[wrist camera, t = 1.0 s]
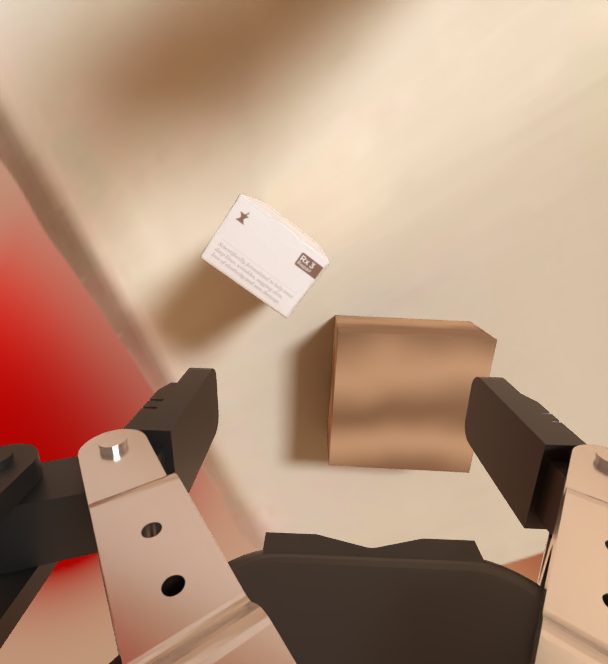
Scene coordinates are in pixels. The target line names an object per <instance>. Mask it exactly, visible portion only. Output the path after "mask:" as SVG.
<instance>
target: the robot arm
mask: <svg viewBox="0 0 608 664" xmlns="http://www.w3.org/2000/svg"><path fill="white" fill-rule="evenodd" d="M217 427H218V397H217V380H216V372H215V370H214V369H209V368H189V369H188V370H187V371H186V373H185V374H184V375H183V376H182V378H181V379H180V380H179V381H178V383H170V384H168V385H166V386H164V387H163V388H161V389H159V390H158V391H157V392H156V393H155V394H154V395H153V396H152V397H151V398H150V401H148V402H147V403H146V404H145V405H144V407H143V409H141V410H140V411H139V412H138V413H137V414H136V415H135V417H134V418H133V419H132V420H131V421H130V422H129V423H128V424H127V426H126V427H125V428H124V429H119V430H114V431H109V432H106V433H103V434H100V435H98V436H96V437H94V438H92V439H91V440H89V441H88V442H87V443H85V444H84V445H83V446H82V447H81V449H80V450H79V453H78V456H77V457H72V458H66V459H60V460H54V461H47V462H41V463H40V458H39V454H38V450H37V449H36V448H35V447H34V446H32V445H29V444H10V445H5V446H1V447H0V648H1V647H2V645H3V644H4V642H5V641H6V639H7V638H8V636H9V634H10V633H11V632H12V630H13V629H14V627H15V626H16V624H17V623H18V621H19V620H20V618H21V617H22V615H23V614H24V612H25V611H26V609H27V608H28V606H29V605H30V603H31V602H32V600H33V599H34V598H35V596H36V595H37V593H38V592H39V590H40V588H41V587H42V586H43V584H44V583H45V581H46V580H47V578H48V577H49V575H50V574H51V572H52V571H53V569H54V568H55V566H56V564H57V563H58V561H62V560H67V559H71V558H75V557H80V556H84V555H88V554H92V553H97V554H98V559H99V563H100V568H101V573H102V577H103V583H104V587H105V592H106V597H107V602H108V606H109V611H110V616H111V621H112V626H113V631H114V636H115V641H116V645H117V650H118V656H117V657H116V658H115V659H114V660H113V661H112V662H110V663H109V664H608V448H607V447H603V446H598V445H588V444H586V443H584V442H583V441H582V440H581V439H580V438H579V437H578V436H576V435H575V434H574V433H573V432H572V431H571V430H569V429H568V428H567V427H566V426H565V425H564V424H562V423H559V420H558V419H557V418H555V417H554V416H553V415H552V414H549V411H547V410H546V409H545V408H544V407H543V406H542V405H540V404H539V403H538V402H536V401H534V400H532V399H530V398H528V397H526V396H525V395H523V394H521V393H520V392H518V391H517V390H516V389H515V388H514V387H513V386H512V385H511V384H509V383H508V382H507V381H506V380H505V379H504V378H498V377H475V378H474V380H473V382H472V385H471V390H470V396H469V402H468V407H467V413H466V419H465V435H466V438H467V441H468V443H469V445H470V446H471V448H472V449H473V451H474V452H475V454H476V455H477V457H478V458H479V460H480V462H481V463H482V465H483V466H484V468H485V469H486V471H487V472H488V474H489V475H490V477H491V478H492V480H493V481H494V483H495V484H496V486H497V487H498V489H499V490H500V492H501V493H502V495H503V497H504V498H505V500H506V501H507V503H508V504H509V506H510V507H511V509H512V510H513V512H514V513H515V515H516V516H517V518H518V519H519V521H520V522H521V524H522V525H523V527H524V528H531V529H547V530H548V531H549V535H548V539H547V542H546V546H545V550H544V555H543V559H542V564H541V568H540V572H539V577H538V582H537V583H535V582H533V581H532V580H530V579H528V578H526V577H525V576H523V575H521V574H519V573H517V572H515V571H513V570H511V569H508V568H506V567H504V566H501V565H499V564H496V563H493V562H490V561H487V560H483V558H482V556H481V554H480V551H479V549H478V547H477V545H476V543H475V541H467V540H443V539H419V540H413V541H408V542H403V543H398V544H393V545H388V546H383V547H378V548H367V547H363V546H359V545H355V544H351V543H347V542H344V541H340V540H336V539H332V538H328V537H325V536H321V535H317V534H293V533H269V532H266V535H265V541H264V548H263V550H260V551H256V552H252V553H249V554H246V555H243V556H241V557H238V558H236V559H234V560H231V561H229V562H227V561H226V559H225V557H224V555H223V554H222V552H221V550H220V549H219V547H218V545H217V543H216V541H215V540H214V538H213V536H212V534H211V533H210V531H209V529H208V527H207V526H206V524H205V522H204V520H203V519H202V517H201V515H200V514H199V512H198V510H197V508H196V506H195V504H194V503H193V501H192V499H191V497H190V496H189V491H190V489H191V487H192V485H193V482H194V480H195V478H196V476H197V474H198V471H199V469H200V467H201V465H202V463H203V461H204V458H205V456H206V454H207V452H208V449H209V447H210V445H211V443H212V441H213V438H214V436H215V434H216V431H217Z"/></svg>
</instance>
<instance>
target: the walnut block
mask: <svg viewBox="0 0 608 664" xmlns="http://www.w3.org/2000/svg"><path fill="white" fill-rule="evenodd" d="M496 342H497V340H496V339H495V338H493V337H492V336H491V335H489V334H488V333H486V332H485V331H483V330H482V329H480V328H479V327H477V326H476V325H475V324H473V323H472V322H464V321H443V320H422V319H402V318H381V317H360V316H340V315H335V328H334V342H333V356H332V370H331V385H330V399H329V413H328V428H327V439H328V458H329V465H339V466H357V467H375V468H394V469H412V470H430V471H449V472H467V473H469V471H470V466H471V461H472V456H473V452H474V451H473V449H472V448H471V446H470V445H469V443H468V441H467V438H466V435H465V419H466V413H467V407H468V402H469V396H470V390H471V385H472V382H473V380H474V378H475V377H489V375H490V371H491V366H492V361H493V356H494V352H495V347H496Z"/></svg>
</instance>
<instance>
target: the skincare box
mask: <svg viewBox="0 0 608 664" xmlns="http://www.w3.org/2000/svg"><path fill="white" fill-rule="evenodd" d="M200 257H201V259H202V260H204V261H205V262H207V263H208V264H210V265H211V266H212V267H214V268H215V269H217V270H218V271H220V272H221V273H222V274H224V275H225V276H227V277H228V278H230V279H231V280H232V281H234V282H235V283H237V284H238V285H240V286H241V287H242V288H244V289H245V290H247V291H248V292H250V293H251V294H252V295H254V296H255V297H257V298H258V299H259V300H261V301H262V302H264V303H265V304H267V305H268V306H270V307H271V308H272V309H274V310H275V311H277V312H278V313H280V314H281V315H283V316H284V317H285V318H288V317H289V315H290V314H291V313H292V312H293V310H294V309H295V307H296V306H297V305H298V303H299V302H300V301H301V299H302V298H303V297H304V296H305V294H306V293H307V292H308V290H309V289H310V288H311V286H312V285H313V284H314V282H315V281H316V280H317V279H318V277H319V276H320V275H321V274H322V272H323V271H324V270H325V268H326V267H327V266H328V264H329V261H328V259H327V257H326V255H325V254H324V252H323V251H322V249H321V247H320V246H319V245H318V244H317V243H316V242H315V241H314V240H312V239H311V238H310V237H309V236H307V235H306V234H305V233H304V232H303V231H301V230H300V229H299V228H298V227H296V226H295V225H294V224H292V223H291V222H290V221H289V220H287V219H286V218H285V217H284V216H282V215H281V214H280V213H278V212H277V211H276V210H274V209H273V208H272V207H270V206H269V205H268V204H266V203H265V202H263V201H260V200H257V199H254V198H251V197H249V196H247V195H243V194H240V195H239V196H238V198H237V200H236V201H235V203H234V205H233V206H232V208H231V210H230V211H229V213H228V214H227V216H226V218H225V219H224V221H223V222H222V224H221V225H220V227H219V228H218V230H217V232H216V233H215V235H214V236H213V238H212V239H211V241H210V242H209V244H208V245H207V247H206V248H205V249H204V251H203V252H202V254H201V256H200Z"/></svg>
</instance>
